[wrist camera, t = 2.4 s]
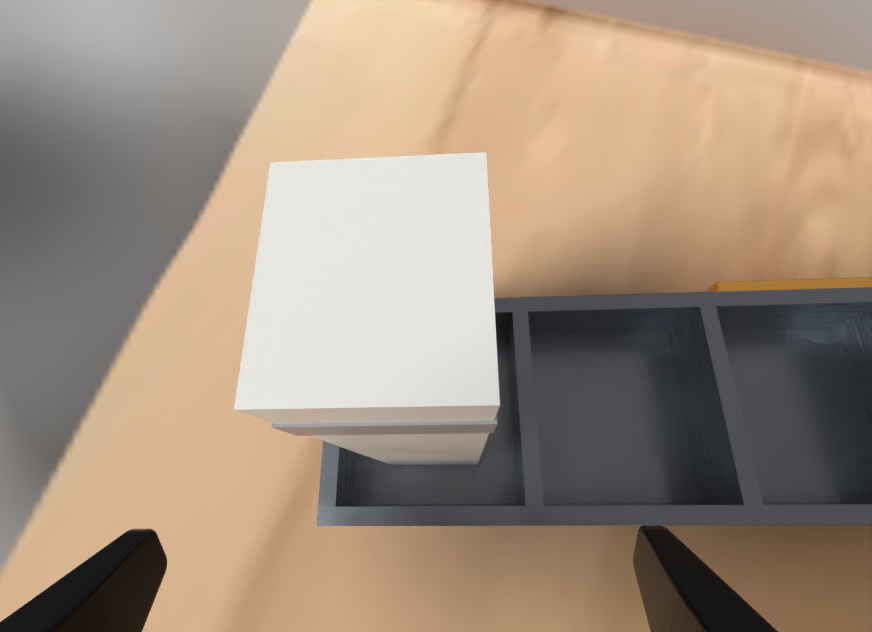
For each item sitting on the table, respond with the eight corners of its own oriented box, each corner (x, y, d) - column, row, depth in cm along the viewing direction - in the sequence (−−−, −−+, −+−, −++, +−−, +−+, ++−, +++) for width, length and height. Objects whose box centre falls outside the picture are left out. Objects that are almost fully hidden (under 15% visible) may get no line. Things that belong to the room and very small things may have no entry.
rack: (833, 310, 21) (903, 276, 18) (902, 518, 18) (1002, 524, 15) (354, 323, 22) (334, 294, 19) (343, 519, 19) (316, 525, 16)
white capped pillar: (478, 465, 19) (504, 409, 6) (391, 466, 19) (229, 413, 6) (474, 368, 20) (488, 150, 7) (394, 369, 21) (267, 160, 8)
